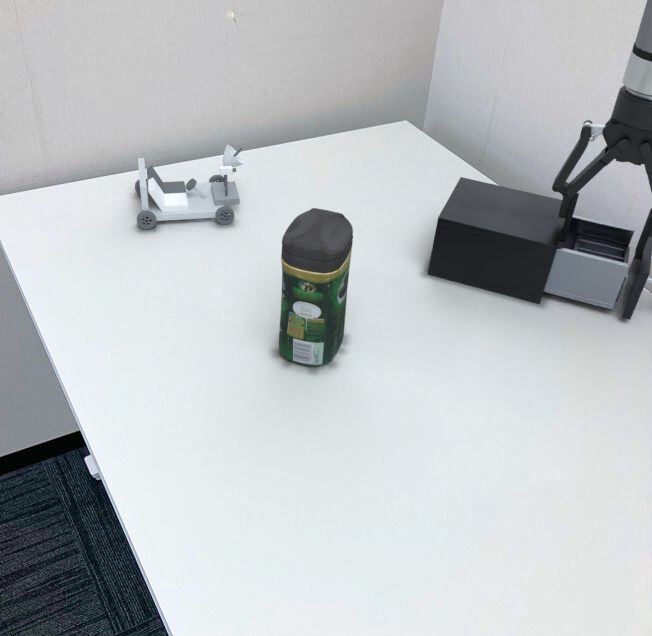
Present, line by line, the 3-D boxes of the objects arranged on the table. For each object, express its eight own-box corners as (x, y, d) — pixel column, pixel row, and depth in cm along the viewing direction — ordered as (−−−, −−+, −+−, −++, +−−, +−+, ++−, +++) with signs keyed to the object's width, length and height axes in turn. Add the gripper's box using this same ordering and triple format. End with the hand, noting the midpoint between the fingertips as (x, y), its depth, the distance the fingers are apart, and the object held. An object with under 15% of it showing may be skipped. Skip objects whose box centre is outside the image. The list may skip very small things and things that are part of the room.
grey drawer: (669, 282, 112) (690, 237, 107) (666, 329, 103) (688, 282, 98) (533, 248, 118) (546, 204, 113) (518, 290, 109) (532, 244, 104)
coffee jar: (293, 317, 103) (299, 197, 91) (348, 330, 101) (362, 209, 89) (269, 361, 96) (272, 236, 84) (328, 375, 94) (340, 251, 82)
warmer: (553, 257, 118) (570, 201, 112) (539, 304, 108) (557, 246, 102) (449, 231, 122) (460, 176, 116) (427, 274, 112) (438, 217, 106)
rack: (621, 269, 112) (630, 247, 110) (616, 302, 106) (625, 278, 103) (569, 257, 114) (577, 234, 112) (562, 288, 108) (569, 264, 105)
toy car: (240, 135, 124) (251, 167, 115) (241, 188, 130) (250, 223, 121) (129, 139, 120) (131, 173, 112) (135, 194, 127) (137, 230, 118)
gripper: (749, 96, 92) (683, 251, 106) (564, 66, 98) (525, 216, 112) (752, 117, 86) (682, 278, 101) (556, 84, 93) (517, 240, 107)
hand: (599, 245), depth 106 cm, fingers open, 10 cm apart
